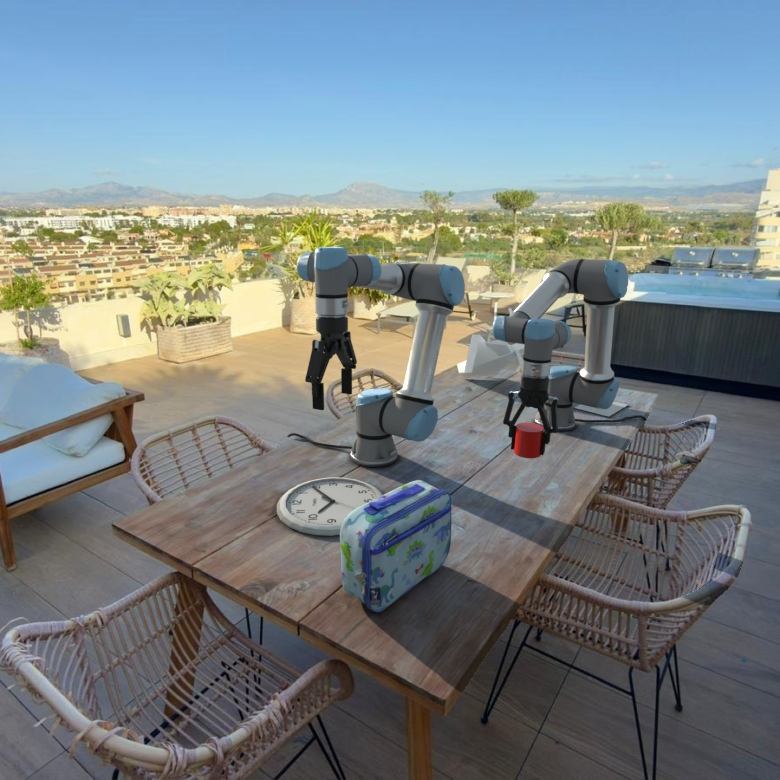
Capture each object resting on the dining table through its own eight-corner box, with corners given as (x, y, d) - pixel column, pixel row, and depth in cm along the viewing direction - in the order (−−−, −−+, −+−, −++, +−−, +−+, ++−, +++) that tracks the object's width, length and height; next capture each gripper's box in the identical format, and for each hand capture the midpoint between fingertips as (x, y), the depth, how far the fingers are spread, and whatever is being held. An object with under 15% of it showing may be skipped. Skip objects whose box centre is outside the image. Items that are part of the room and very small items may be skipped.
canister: (530, 460, 147) (532, 434, 145) (508, 451, 153) (510, 426, 150) (546, 454, 152) (549, 428, 149) (524, 445, 158) (527, 420, 155)
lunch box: (369, 626, 100) (370, 530, 93) (334, 598, 107) (332, 507, 101) (455, 567, 117) (460, 483, 111) (419, 547, 124) (423, 467, 118)
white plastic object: (478, 420, 264) (457, 397, 239) (460, 347, 286) (438, 319, 261) (549, 396, 251) (535, 369, 227) (524, 322, 273) (509, 290, 249)
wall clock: (392, 527, 129) (268, 531, 127) (391, 533, 130) (269, 537, 127) (383, 473, 158) (282, 475, 155) (383, 478, 158) (282, 480, 156)
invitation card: (608, 416, 214) (573, 407, 224) (608, 416, 214) (573, 408, 224) (628, 404, 229) (594, 396, 238) (628, 405, 229) (594, 397, 238)
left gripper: (316, 324, 110) (319, 419, 116) (370, 309, 132) (369, 389, 138) (287, 321, 113) (291, 413, 119) (344, 307, 135) (344, 385, 141)
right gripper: (495, 373, 146) (489, 448, 153) (572, 383, 138) (562, 462, 145) (502, 367, 153) (496, 439, 160) (575, 376, 144) (566, 452, 151)
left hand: (333, 401), depth 129 cm, fingers open, 13 cm apart
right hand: (527, 450), depth 152 cm, fingers closed on canister, 8 cm apart
